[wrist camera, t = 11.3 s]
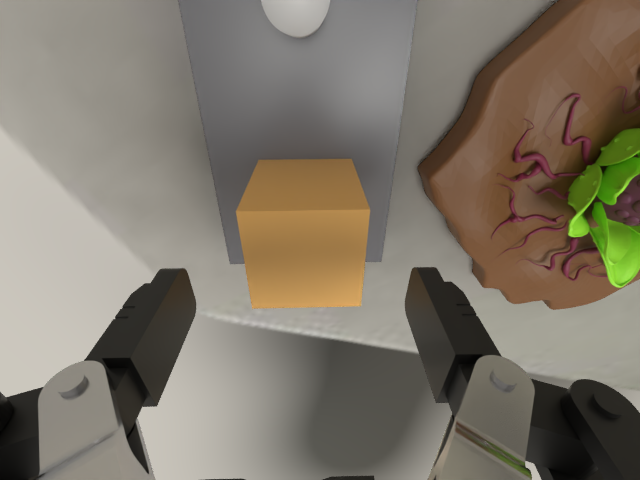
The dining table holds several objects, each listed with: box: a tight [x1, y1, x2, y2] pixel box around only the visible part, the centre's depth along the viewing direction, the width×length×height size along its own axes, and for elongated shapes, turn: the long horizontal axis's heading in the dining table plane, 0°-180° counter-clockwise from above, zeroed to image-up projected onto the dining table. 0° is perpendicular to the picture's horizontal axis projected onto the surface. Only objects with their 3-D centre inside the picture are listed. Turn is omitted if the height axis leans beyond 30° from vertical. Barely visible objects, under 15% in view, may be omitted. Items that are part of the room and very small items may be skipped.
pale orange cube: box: [236, 159, 370, 309], centre depth 15 cm, size 5×5×6 cm
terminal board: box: [178, 0, 418, 264], centre depth 14 cm, size 18×10×6 cm, turn 0°
